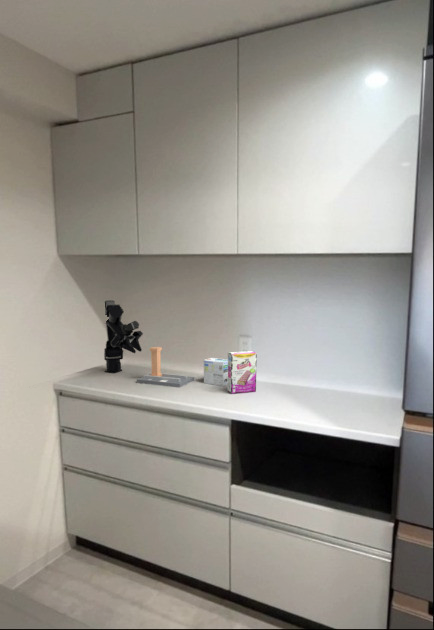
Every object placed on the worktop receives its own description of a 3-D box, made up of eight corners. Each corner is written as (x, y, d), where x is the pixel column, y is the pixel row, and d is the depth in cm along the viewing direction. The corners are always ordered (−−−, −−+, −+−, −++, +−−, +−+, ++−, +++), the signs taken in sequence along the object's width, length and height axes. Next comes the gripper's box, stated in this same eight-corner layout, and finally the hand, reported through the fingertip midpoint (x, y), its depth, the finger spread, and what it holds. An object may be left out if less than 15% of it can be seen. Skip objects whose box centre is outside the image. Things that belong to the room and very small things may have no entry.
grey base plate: (136, 382, 195) (136, 376, 195) (153, 376, 208) (153, 370, 207) (179, 387, 186) (179, 381, 186) (194, 380, 199) (194, 374, 199)
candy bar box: (231, 394, 175) (231, 354, 173) (227, 391, 180) (227, 352, 178) (256, 391, 178) (257, 352, 177) (252, 388, 183) (252, 350, 182)
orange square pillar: (150, 377, 198) (149, 348, 196) (154, 375, 201) (154, 346, 200) (157, 377, 196) (157, 348, 195) (162, 375, 200) (161, 347, 199)
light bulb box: (231, 383, 193) (231, 359, 192) (223, 386, 187) (223, 361, 187) (211, 380, 199) (211, 357, 198) (203, 383, 193) (203, 359, 192)
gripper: (115, 317, 194) (136, 343, 190) (139, 314, 211) (159, 337, 207) (101, 334, 198) (122, 359, 194) (126, 329, 215) (145, 352, 211)
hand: (138, 351), depth 202 cm, fingers open, 4 cm apart
